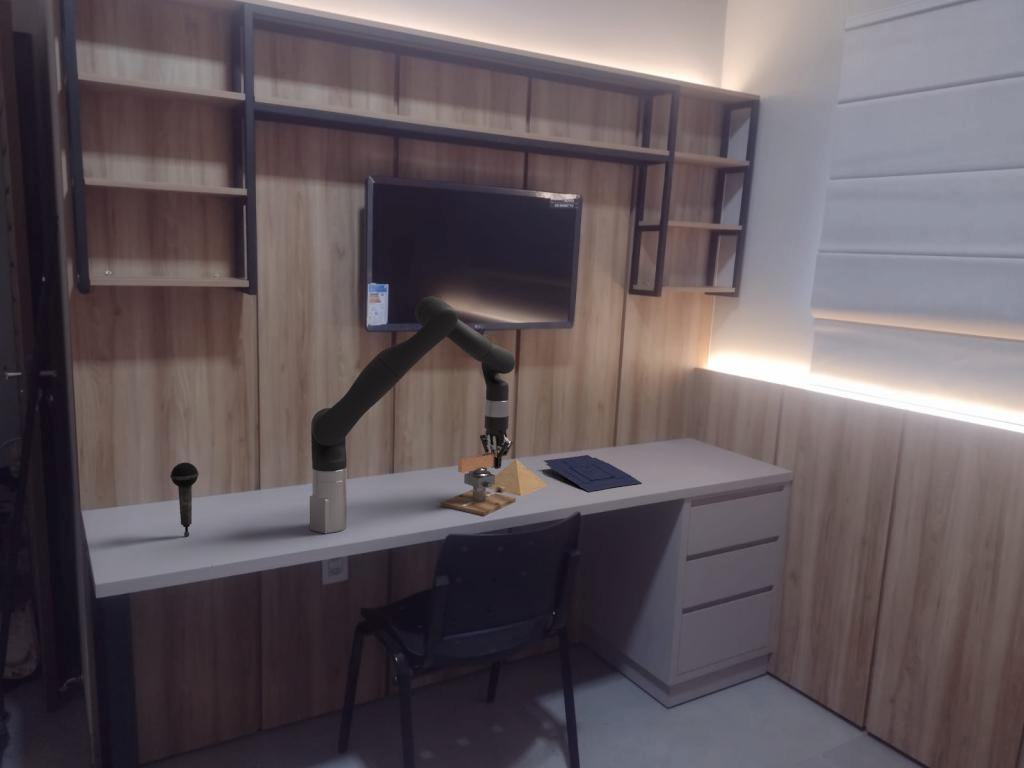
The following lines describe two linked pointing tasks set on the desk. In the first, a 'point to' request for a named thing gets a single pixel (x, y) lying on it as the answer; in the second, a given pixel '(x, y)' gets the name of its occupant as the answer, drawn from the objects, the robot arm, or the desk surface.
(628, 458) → the desk surface
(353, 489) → the desk surface
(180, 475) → the microphone
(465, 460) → the lever handle
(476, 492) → the post base
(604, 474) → the dark blue flat panel
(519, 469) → the model pyramid
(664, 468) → the desk surface
